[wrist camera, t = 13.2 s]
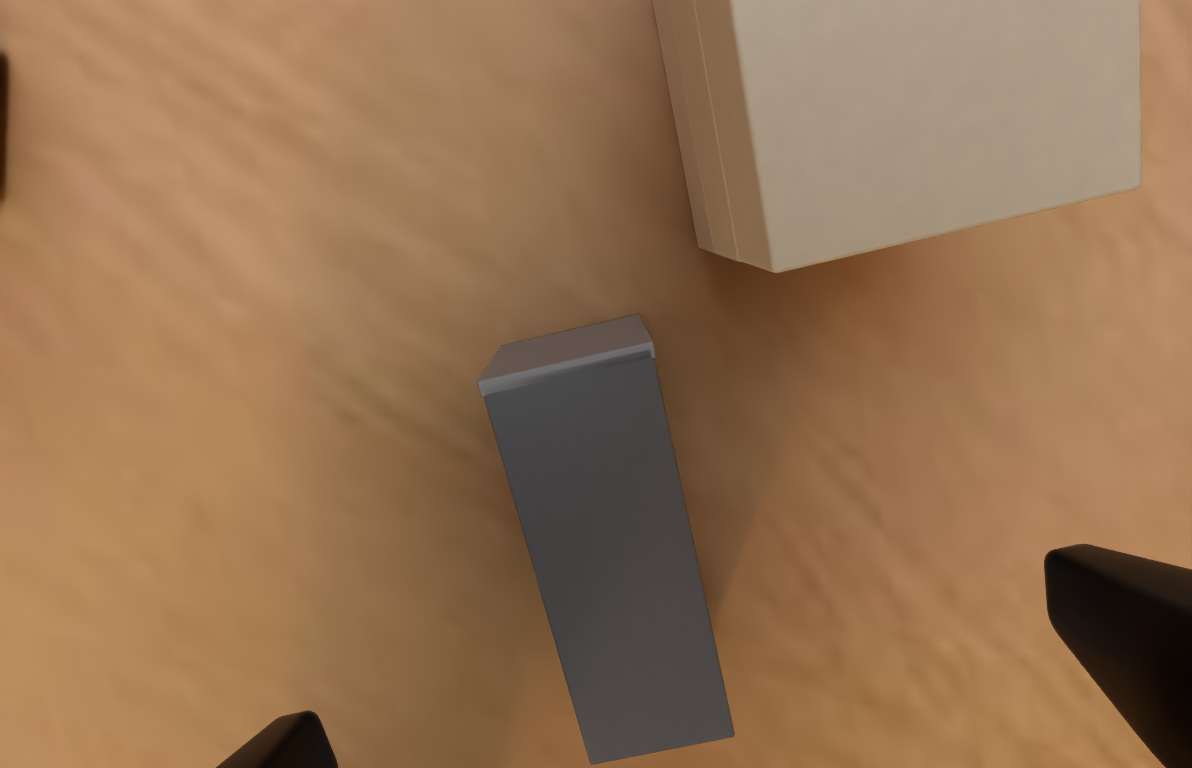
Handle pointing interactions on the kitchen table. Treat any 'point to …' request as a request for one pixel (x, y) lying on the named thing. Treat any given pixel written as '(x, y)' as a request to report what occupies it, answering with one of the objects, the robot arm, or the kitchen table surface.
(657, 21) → the navy and tan block
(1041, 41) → the cream book
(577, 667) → the dark grey block
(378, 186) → the kitchen table surface
